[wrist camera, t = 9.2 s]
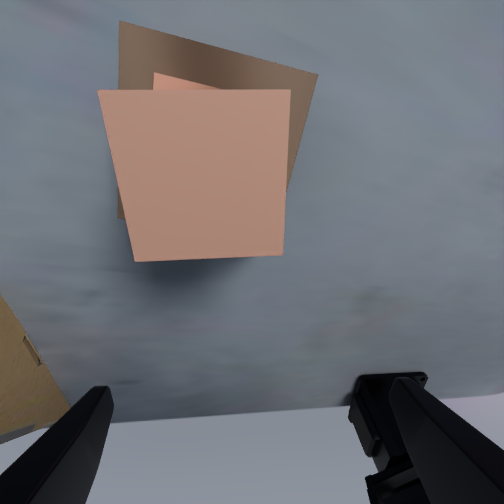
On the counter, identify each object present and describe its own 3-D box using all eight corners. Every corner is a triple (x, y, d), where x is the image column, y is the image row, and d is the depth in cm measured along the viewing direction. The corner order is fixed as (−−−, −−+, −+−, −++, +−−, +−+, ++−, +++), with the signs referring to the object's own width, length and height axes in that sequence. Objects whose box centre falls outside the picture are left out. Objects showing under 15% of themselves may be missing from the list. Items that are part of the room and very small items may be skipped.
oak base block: (297, 82, 16) (319, 74, 12) (263, 217, 19) (273, 245, 15) (145, 41, 14) (117, 18, 11) (139, 195, 18) (116, 219, 14)
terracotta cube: (266, 96, 12) (290, 89, 8) (264, 209, 14) (282, 255, 10) (145, 96, 12) (97, 89, 7) (163, 212, 14) (135, 261, 10)
